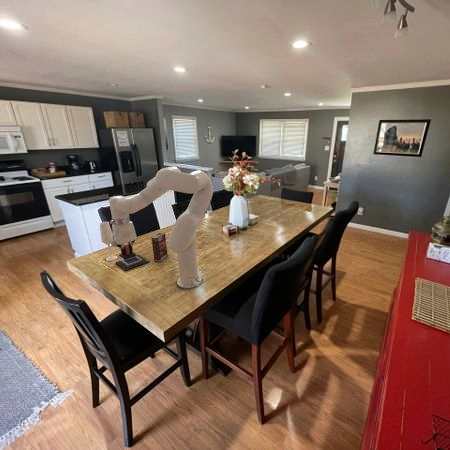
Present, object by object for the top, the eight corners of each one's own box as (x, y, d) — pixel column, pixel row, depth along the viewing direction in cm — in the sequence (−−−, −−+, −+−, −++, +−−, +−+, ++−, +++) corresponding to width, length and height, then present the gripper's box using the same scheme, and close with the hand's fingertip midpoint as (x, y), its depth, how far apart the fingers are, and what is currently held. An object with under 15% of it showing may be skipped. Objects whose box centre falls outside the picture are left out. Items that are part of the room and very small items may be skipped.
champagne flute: (118, 255, 157) (111, 220, 149) (116, 259, 151) (109, 224, 143) (106, 256, 155) (98, 221, 147) (104, 261, 149) (96, 225, 141)
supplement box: (161, 261, 149) (157, 238, 144) (154, 261, 150) (150, 237, 145) (168, 255, 157) (165, 233, 152) (161, 254, 158) (158, 232, 153)
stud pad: (136, 255, 127) (134, 245, 125) (124, 259, 123) (122, 248, 121) (130, 252, 131) (129, 242, 129) (119, 256, 126) (117, 245, 124)
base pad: (148, 262, 148) (148, 259, 148) (125, 271, 138) (124, 268, 138) (138, 255, 157) (137, 252, 156) (115, 263, 147) (115, 260, 146)
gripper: (107, 226, 112) (114, 261, 118) (140, 218, 124) (145, 250, 130) (100, 223, 116) (108, 256, 123) (133, 215, 128) (139, 246, 134)
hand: (127, 253), depth 126 cm, fingers closed on stud pad, 2 cm apart
